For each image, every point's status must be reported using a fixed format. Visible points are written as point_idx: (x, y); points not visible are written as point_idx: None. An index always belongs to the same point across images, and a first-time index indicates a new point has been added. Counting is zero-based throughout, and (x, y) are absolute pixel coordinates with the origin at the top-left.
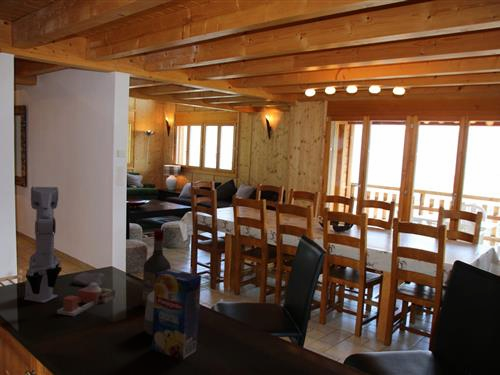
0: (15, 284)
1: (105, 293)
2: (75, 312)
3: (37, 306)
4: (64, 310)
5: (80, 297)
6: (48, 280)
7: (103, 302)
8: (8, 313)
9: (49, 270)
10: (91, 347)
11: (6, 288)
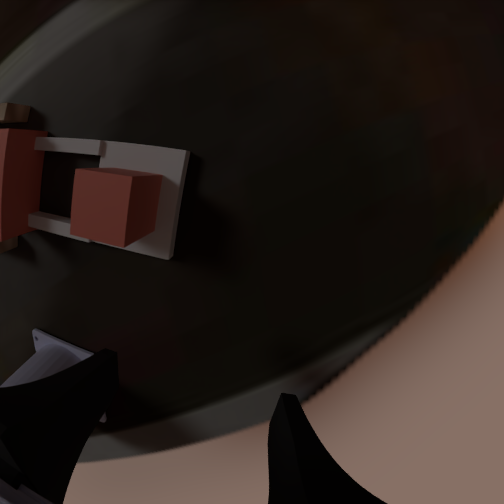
0: None
1: None
2: (170, 149)
3: (133, 365)
4: (157, 222)
5: (24, 218)
6: (95, 419)
7: (28, 114)
8: (231, 424)
9: (53, 478)
10: (460, 4)
11: None
